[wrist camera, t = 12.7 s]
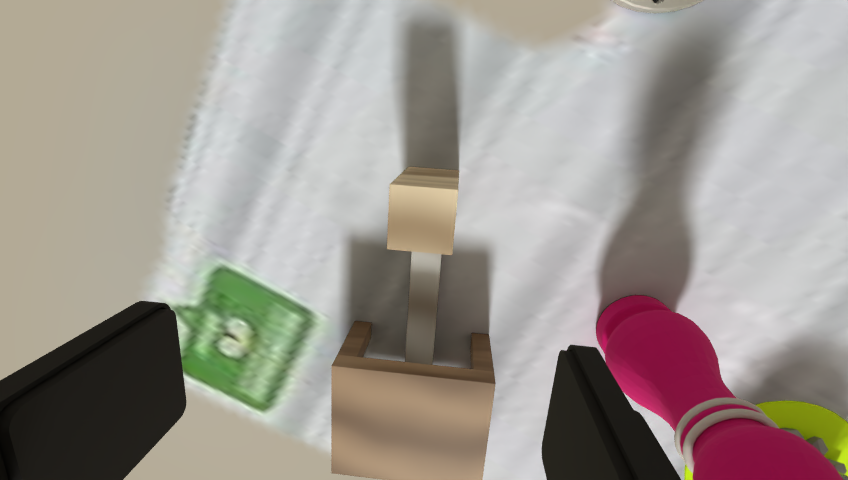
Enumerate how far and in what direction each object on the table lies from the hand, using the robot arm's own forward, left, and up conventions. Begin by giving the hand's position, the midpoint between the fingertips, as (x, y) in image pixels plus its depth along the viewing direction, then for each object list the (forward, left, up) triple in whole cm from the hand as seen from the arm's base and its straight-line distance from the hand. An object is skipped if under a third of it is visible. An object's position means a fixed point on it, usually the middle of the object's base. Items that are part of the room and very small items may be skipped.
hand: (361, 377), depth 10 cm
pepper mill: (+10, +18, -24) cm, 32 cm away
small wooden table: (+17, 0, -24) cm, 30 cm away
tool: (+6, 0, -24) cm, 25 cm away
